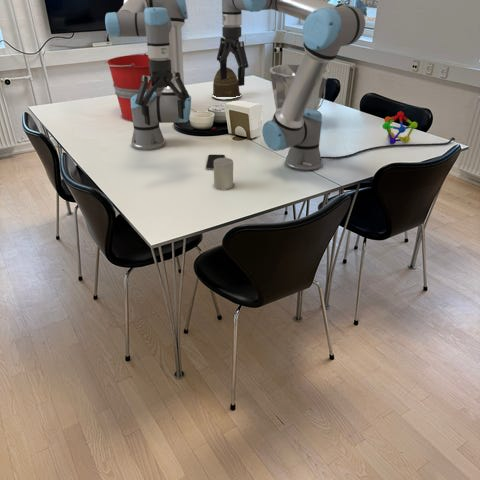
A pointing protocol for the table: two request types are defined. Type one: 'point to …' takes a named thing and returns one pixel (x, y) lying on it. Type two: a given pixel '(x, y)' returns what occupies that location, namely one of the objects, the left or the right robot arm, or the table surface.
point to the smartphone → (212, 160)
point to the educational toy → (398, 128)
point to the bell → (226, 85)
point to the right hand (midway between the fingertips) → (232, 82)
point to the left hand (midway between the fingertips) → (164, 121)
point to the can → (223, 173)
